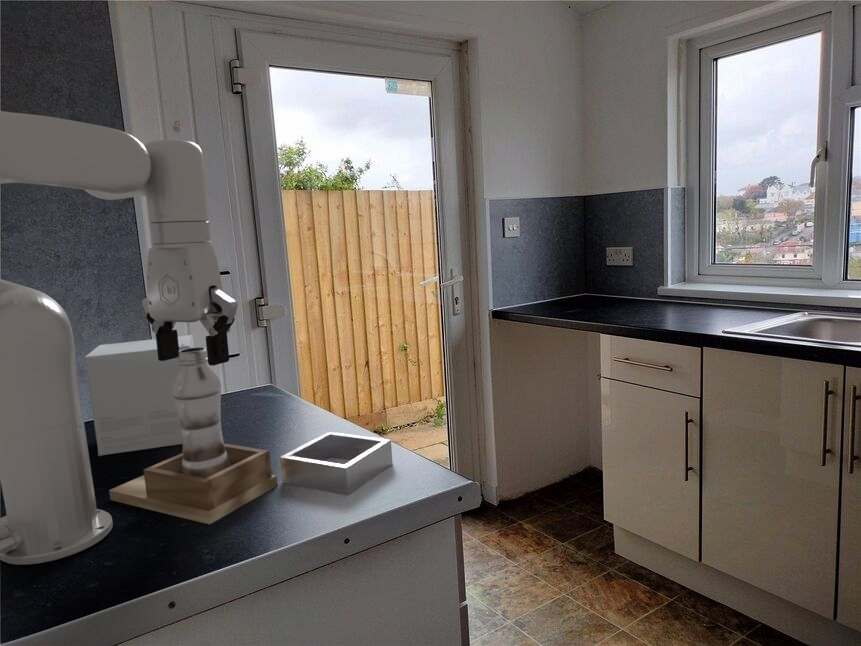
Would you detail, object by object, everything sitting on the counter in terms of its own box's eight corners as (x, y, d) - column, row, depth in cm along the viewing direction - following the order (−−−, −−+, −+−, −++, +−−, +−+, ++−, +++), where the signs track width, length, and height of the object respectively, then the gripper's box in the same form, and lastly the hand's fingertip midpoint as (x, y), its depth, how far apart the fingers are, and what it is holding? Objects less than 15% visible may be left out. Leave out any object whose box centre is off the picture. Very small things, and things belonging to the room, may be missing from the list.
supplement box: (205, 421, 126) (194, 333, 123) (202, 442, 113) (190, 345, 111) (111, 434, 121) (98, 343, 118) (96, 457, 108) (82, 356, 106)
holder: (348, 495, 87) (346, 468, 87) (282, 482, 93) (279, 457, 92) (392, 464, 98) (390, 439, 97) (330, 454, 104) (328, 431, 103)
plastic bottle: (173, 495, 87) (155, 355, 84) (203, 475, 93) (188, 345, 90) (212, 498, 85) (196, 355, 82) (241, 478, 92) (226, 345, 88)
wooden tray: (209, 524, 81) (204, 484, 80) (110, 499, 90) (105, 463, 89) (277, 485, 92) (274, 449, 91) (183, 467, 102) (179, 434, 101)
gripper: (113, 239, 84) (128, 363, 87) (205, 235, 76) (218, 371, 79) (160, 237, 91) (172, 352, 94) (249, 233, 83) (259, 359, 85)
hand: (193, 361), depth 86 cm, fingers open, 9 cm apart
